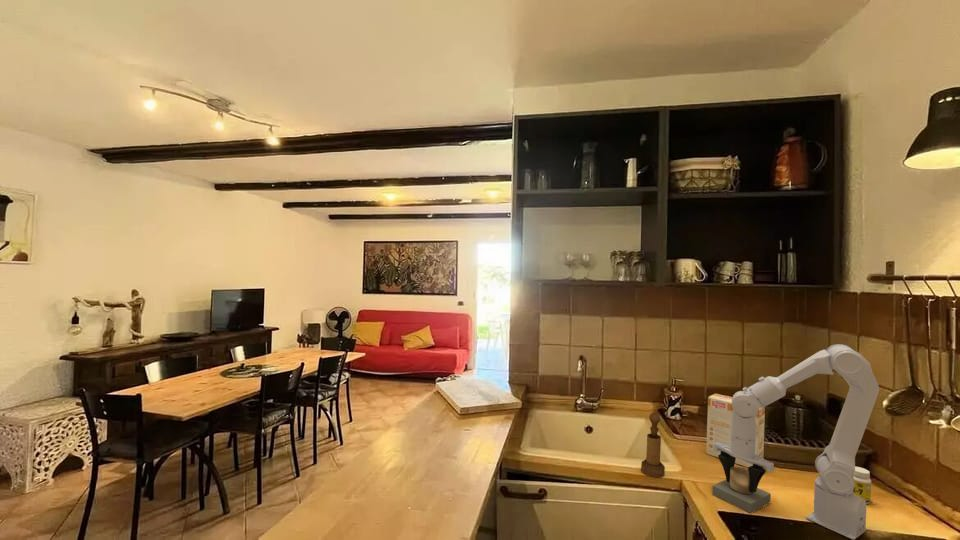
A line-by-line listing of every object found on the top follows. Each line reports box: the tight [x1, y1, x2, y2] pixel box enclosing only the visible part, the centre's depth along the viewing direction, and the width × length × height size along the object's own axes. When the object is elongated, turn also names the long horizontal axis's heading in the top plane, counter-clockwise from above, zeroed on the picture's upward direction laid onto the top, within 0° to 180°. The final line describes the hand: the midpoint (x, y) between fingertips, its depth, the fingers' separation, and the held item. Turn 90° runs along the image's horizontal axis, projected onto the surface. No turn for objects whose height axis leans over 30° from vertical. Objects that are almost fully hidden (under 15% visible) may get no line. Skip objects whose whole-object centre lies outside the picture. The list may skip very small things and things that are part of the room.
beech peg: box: [730, 465, 753, 495], centre depth 114 cm, size 5×5×8 cm
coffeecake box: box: [705, 393, 766, 468], centre depth 137 cm, size 15×7×20 cm, turn 42°
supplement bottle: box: [853, 465, 872, 505], centre depth 115 cm, size 5×5×8 cm
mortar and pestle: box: [640, 412, 666, 478], centre depth 127 cm, size 7×6×18 cm
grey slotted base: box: [711, 479, 772, 514], centre depth 114 cm, size 10×10×2 cm
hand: (741, 486), depth 114 cm, fingers closed on beech peg, 5 cm apart
